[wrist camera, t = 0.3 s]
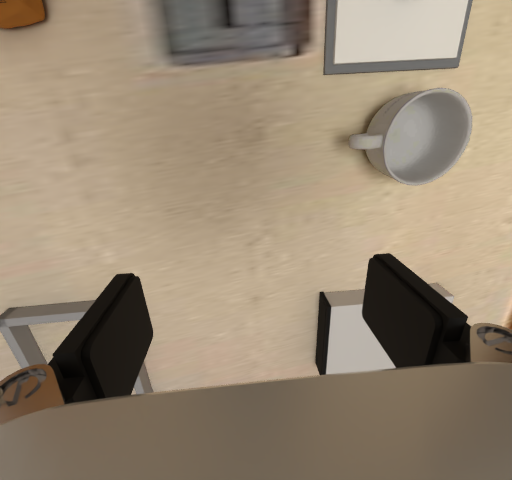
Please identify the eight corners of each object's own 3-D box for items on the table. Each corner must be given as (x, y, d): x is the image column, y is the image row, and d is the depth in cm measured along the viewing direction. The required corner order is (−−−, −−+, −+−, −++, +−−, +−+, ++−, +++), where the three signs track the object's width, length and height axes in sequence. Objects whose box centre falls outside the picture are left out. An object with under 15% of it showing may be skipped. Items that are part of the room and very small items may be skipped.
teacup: (440, 102, 37) (491, 97, 30) (411, 180, 41) (450, 191, 34) (347, 84, 35) (377, 73, 28) (326, 167, 39) (348, 176, 32)
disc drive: (318, 290, 49) (327, 307, 44) (435, 280, 50) (456, 296, 45) (314, 360, 56) (321, 381, 51) (417, 350, 57) (433, 370, 52)
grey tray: (9, 308, 44) (-6, 320, 42) (123, 297, 45) (116, 308, 43) (73, 430, 58) (65, 446, 55) (161, 420, 59) (158, 435, 56)
